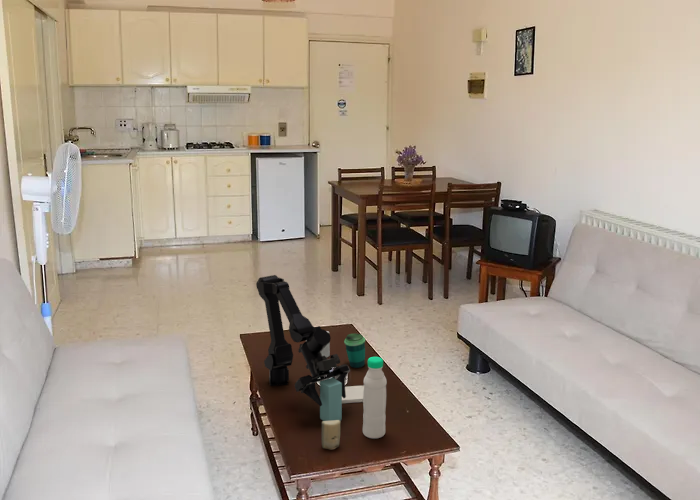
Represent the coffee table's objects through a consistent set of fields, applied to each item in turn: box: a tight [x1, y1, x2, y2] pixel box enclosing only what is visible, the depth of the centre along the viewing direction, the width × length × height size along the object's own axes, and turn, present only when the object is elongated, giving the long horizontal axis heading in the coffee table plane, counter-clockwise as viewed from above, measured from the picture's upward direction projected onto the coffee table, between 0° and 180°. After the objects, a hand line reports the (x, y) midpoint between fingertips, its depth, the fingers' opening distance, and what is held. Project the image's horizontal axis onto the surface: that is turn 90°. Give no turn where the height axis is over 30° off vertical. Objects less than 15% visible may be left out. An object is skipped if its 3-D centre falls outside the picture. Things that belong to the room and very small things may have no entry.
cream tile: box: [342, 384, 364, 404], centre depth 224 cm, size 10×10×1 cm
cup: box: [343, 333, 366, 369], centre depth 247 cm, size 8×8×12 cm
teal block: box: [319, 378, 343, 422], centre depth 206 cm, size 5×5×13 cm
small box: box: [305, 330, 331, 359], centre depth 256 cm, size 8×6×10 cm
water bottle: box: [362, 356, 387, 440], centre depth 197 cm, size 7×7×25 cm
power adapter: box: [321, 420, 342, 450], centre depth 191 cm, size 6×5×8 cm
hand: (333, 401), depth 205 cm, fingers open, 9 cm apart
